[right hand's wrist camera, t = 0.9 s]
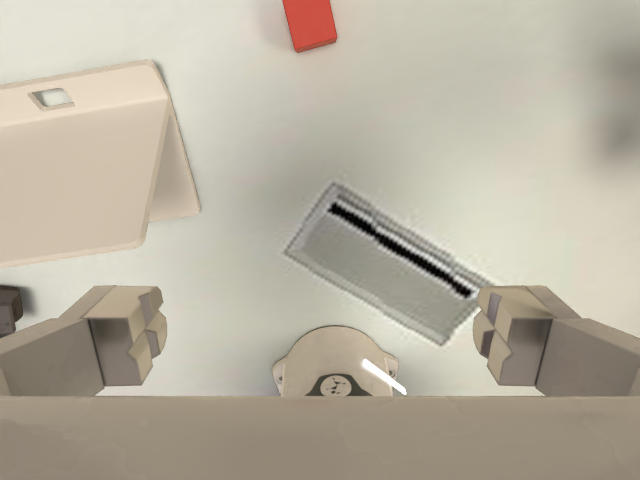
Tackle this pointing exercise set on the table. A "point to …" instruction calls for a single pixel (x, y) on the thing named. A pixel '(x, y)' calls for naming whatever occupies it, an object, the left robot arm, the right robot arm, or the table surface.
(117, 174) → the tablet stand
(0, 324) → the toy
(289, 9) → the brick
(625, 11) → the table surface
